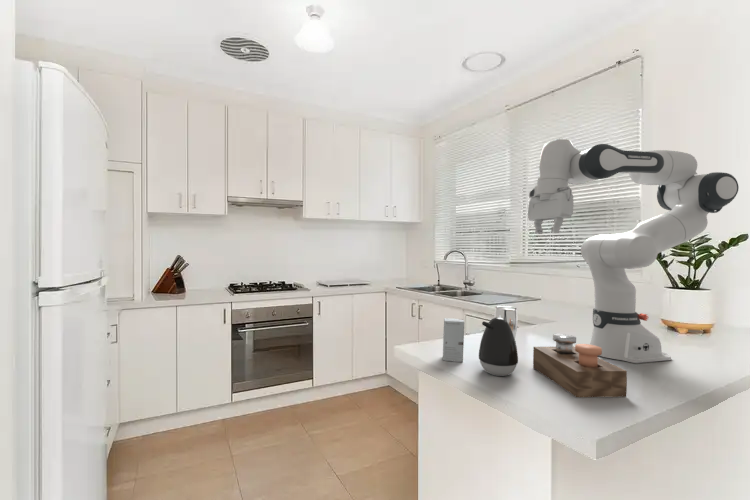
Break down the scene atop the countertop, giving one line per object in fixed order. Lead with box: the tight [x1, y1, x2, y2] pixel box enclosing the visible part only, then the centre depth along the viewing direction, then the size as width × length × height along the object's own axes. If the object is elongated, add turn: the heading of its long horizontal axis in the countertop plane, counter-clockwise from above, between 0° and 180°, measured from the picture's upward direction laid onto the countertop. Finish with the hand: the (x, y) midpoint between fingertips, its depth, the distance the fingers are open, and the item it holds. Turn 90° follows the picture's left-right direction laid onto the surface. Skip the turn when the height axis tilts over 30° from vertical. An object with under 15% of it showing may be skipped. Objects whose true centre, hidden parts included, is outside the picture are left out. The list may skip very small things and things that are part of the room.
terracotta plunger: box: [574, 343, 602, 367], centre depth 88 cm, size 6×6×5 cm
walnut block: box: [532, 345, 628, 398], centre depth 93 cm, size 12×20×6 cm, turn 3°
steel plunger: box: [552, 333, 577, 354], centre depth 98 cm, size 6×6×5 cm
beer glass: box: [493, 305, 519, 339], centre depth 114 cm, size 7×7×15 cm
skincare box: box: [442, 317, 465, 363], centre depth 109 cm, size 6×4×12 cm
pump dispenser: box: [478, 317, 519, 377], centre depth 98 cm, size 10×10×15 cm
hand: (546, 233), depth 114 cm, fingers open, 8 cm apart
